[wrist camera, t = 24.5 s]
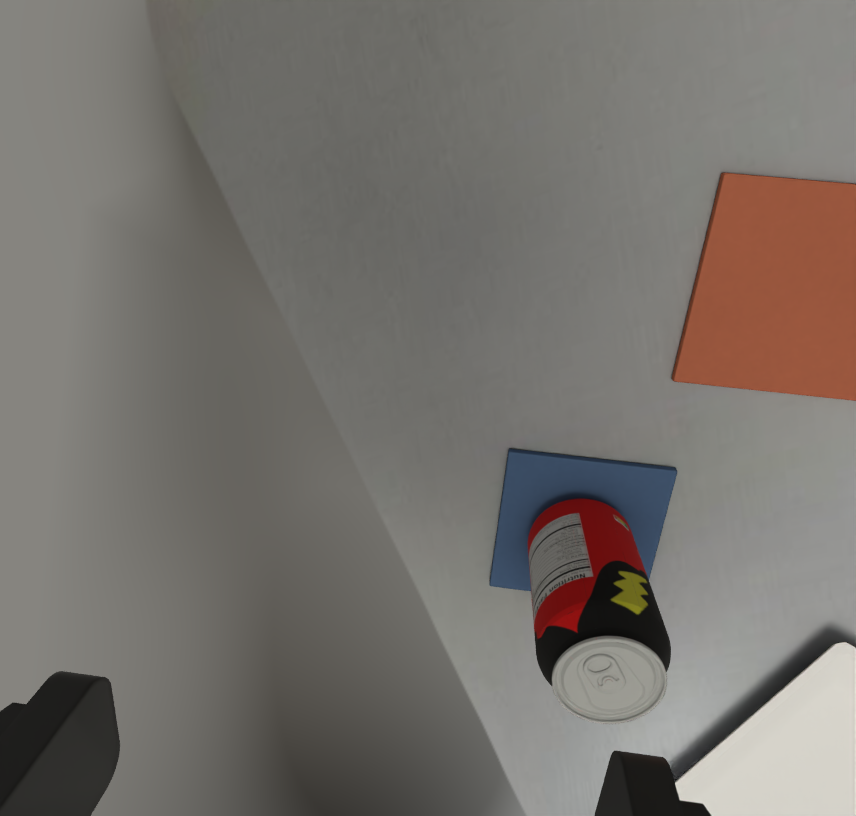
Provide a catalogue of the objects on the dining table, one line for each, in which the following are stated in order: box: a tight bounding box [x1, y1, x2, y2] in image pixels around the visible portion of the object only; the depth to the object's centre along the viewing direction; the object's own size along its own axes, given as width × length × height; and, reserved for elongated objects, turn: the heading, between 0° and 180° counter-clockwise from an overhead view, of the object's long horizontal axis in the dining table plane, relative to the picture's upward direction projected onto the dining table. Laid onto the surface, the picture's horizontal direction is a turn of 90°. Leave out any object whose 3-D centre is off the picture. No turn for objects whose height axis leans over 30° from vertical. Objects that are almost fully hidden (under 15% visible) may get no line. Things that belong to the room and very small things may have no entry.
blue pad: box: [490, 449, 677, 591], centre depth 40 cm, size 10×10×1 cm
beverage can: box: [528, 498, 671, 724], centre depth 34 cm, size 6×6×12 cm
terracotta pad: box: [672, 173, 856, 401], centre depth 33 cm, size 11×11×1 cm
